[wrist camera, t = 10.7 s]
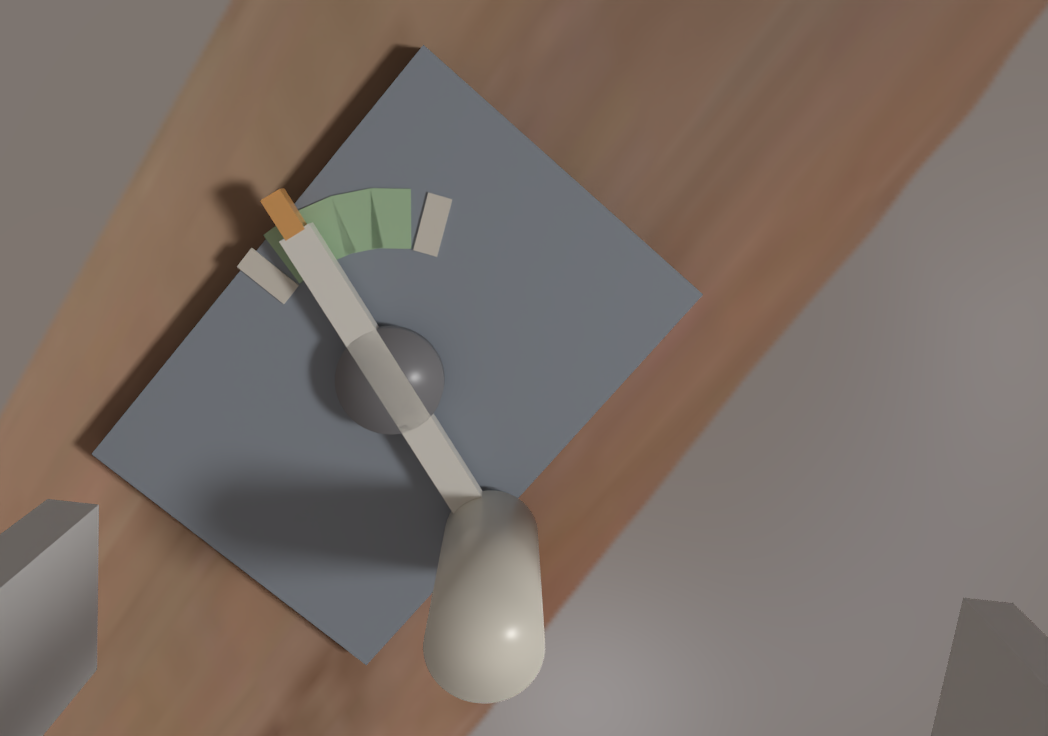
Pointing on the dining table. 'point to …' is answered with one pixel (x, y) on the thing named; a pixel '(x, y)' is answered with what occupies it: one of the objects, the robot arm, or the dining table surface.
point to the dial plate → (420, 305)
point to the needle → (476, 516)
